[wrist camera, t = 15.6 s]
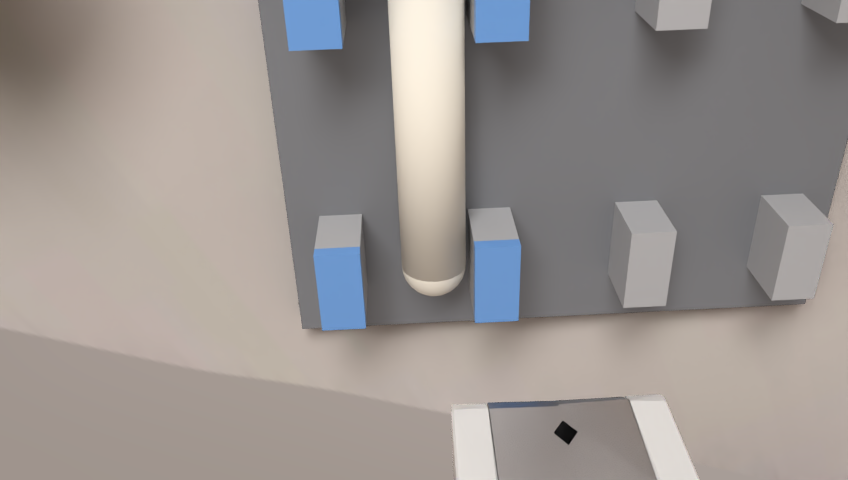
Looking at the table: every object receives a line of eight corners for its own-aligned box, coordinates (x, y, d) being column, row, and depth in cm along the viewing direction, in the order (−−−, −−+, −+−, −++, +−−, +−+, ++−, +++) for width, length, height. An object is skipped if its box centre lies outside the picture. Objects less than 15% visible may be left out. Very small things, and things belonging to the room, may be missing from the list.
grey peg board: (913, -176, 31) (1020, -166, 26) (796, 293, 42) (854, 365, 37) (242, -151, 30) (212, -136, 25) (304, 317, 41) (292, 394, 36)
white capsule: (370, -64, 30) (408, -52, 28) (438, -73, 32) (479, -62, 29) (392, 285, 38) (422, 316, 36) (445, 267, 40) (477, 296, 37)
